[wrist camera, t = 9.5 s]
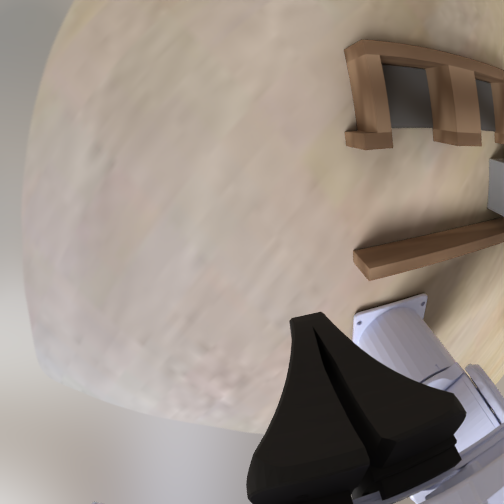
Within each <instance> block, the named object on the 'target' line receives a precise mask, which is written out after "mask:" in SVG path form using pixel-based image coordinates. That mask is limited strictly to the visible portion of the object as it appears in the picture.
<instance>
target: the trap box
mask: <svg viewBox="0 0 504 504" xmlns="http://www.w3.org/2000/svg"><path fill="white" fill-rule="evenodd" d="M344 53H345V57H346V62H347V67H348V72H349V78H350V83H351V89H352V95H353V101H354V107H355V114H356V122H357V130H358V131H348V132H345V138H346V146H349V147H354V148H359V149H363V150H372V149H385V148H393V141H392V130H391V128H433V138H434V141H436V142H441V143H447V144H451V145H456V146H482V142H481V130H484V131H494V132H495V143H500V144H504V70H502V69H499V68H496V67H494V66H491V65H488V64H485V63H482V62H479V61H476V60H472V59H469V58H466V57H462V56H458V55H455V54H451V53H447V52H443V51H438V50H434V49H429V48H424V47H418V46H413V45H407V44H400V43H393V42H384V41H375V40H360V41H359V42H357V43H355V44H353V45H351V46H350V47H348V48H346V49H345V50H344ZM382 64H387V65H382ZM390 65H398V66H390ZM401 66H408V67H401ZM410 67H416V68H410ZM418 68H423V69H418ZM476 79H478V80H476ZM480 80H482V81H480ZM484 81H486V82H484ZM487 82H489V83H487ZM502 242H504V217H501V218H497V219H493V220H489V221H485V222H480V223H476V224H472V225H468V226H463V227H459V228H455V229H450V230H446V231H442V232H437V233H433V234H428V235H424V236H419V237H415V238H410V239H406V240H401V241H397V242H392V243H387V244H383V245H378V246H373V247H369V248H364V249H359V250H354V251H353V260H354V263H355V264H356V266H357V267H358V268H359V269H360V271H361V272H362V273H363V274H364V275H365V277H366V278H367V279H368V280H369V281H371V280H375V279H379V278H383V277H387V276H391V275H395V274H399V273H402V272H406V271H410V270H413V269H417V268H421V267H424V266H428V265H431V264H435V263H438V262H442V261H445V260H449V259H452V258H455V257H459V256H462V255H465V254H468V253H471V252H475V251H478V250H481V249H484V248H487V247H490V246H493V245H496V244H499V243H502Z"/></svg>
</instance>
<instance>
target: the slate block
mask: <svg viewBox="0 0 504 504" xmlns="http://www.w3.org/2000/svg"><path fill="white" fill-rule="evenodd" d="M487 208H488V209H490V210H492V211H494V212H496V213H498V214H500V215H502V216H504V159H489V192H488V205H487Z"/></svg>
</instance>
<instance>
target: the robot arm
mask: <svg viewBox="0 0 504 504" xmlns="http://www.w3.org/2000/svg"><path fill="white" fill-rule="evenodd" d="M427 298H428V296H427V295H426V294H425V293H423V294H420V295H416V296H413V297H410V298H407V299H404V300H400V301H397V302H393V303H390V304H387V305H383V306H380V307H376V308H372V309H369V310H365V311H361V312H358V313H356V314H355V315H354V321H353V338H352V341H351V340H350V339H349V338H348V337H347V336H346V335H345V334H343V333H342V332H341V331H340V330H339V329H338V328H337V327H336V326H335V325H334V324H333V323H332V322H331V321H330V320H329V319H328V318H327V317H326V316H325V314H324V313H322V312H318V313H313V314H309V315H304V316H300V317H295V318H292V319H291V320H290V329H291V337H292V345H291V356H290V362H289V368H288V373H287V378H286V382H285V385H284V389H283V392H282V395H281V398H280V401H279V404H278V406H277V409H276V412H275V414H274V416H273V418H272V420H271V423H270V425H269V427H268V429H267V431H266V433H265V435H264V437H263V438H262V440H261V442H260V444H259V445H258V447H257V449H256V450H255V452H254V454H253V457H252V460H251V464H250V467H249V471H248V476H247V484H246V485H247V495H248V499H249V500H250V502H251V503H252V504H393V503H396V502H398V501H401V500H403V499H405V498H407V497H410V498H411V500H413V501H414V502H415V503H416V504H504V398H503V396H502V395H501V394H500V392H499V390H498V389H497V388H496V386H495V385H494V383H493V382H492V381H491V379H490V378H489V377H488V375H487V374H486V373H485V371H484V370H483V369H482V368H481V367H480V366H479V365H478V364H474V365H472V364H469V365H468V366H467V367H466V368H465V370H466V371H467V372H468V374H469V375H470V377H471V379H472V381H473V382H474V383H473V382H472V381H471V379H470V378H469V376H468V375H467V374H466V373H465V371H464V370H463V369H462V368H461V366H460V365H459V364H458V363H457V362H456V361H455V360H454V358H453V357H452V356H451V354H450V353H449V352H448V351H447V349H446V348H445V347H444V345H443V344H442V343H441V342H440V340H439V339H438V338H437V336H436V335H435V334H434V333H433V331H432V330H431V329H430V328H429V327H428V325H427V324H426V323H425V322H424V320H423V318H424V313H425V308H426V303H427ZM359 321H360V322H359ZM474 384H475V385H476V386H475V385H474ZM476 387H477V388H476ZM491 409H492V410H493V411H494V413H495V414H494V413H493V411H492V410H491ZM351 494H352V497H351ZM92 504H102V503H98V502H92Z"/></svg>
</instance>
